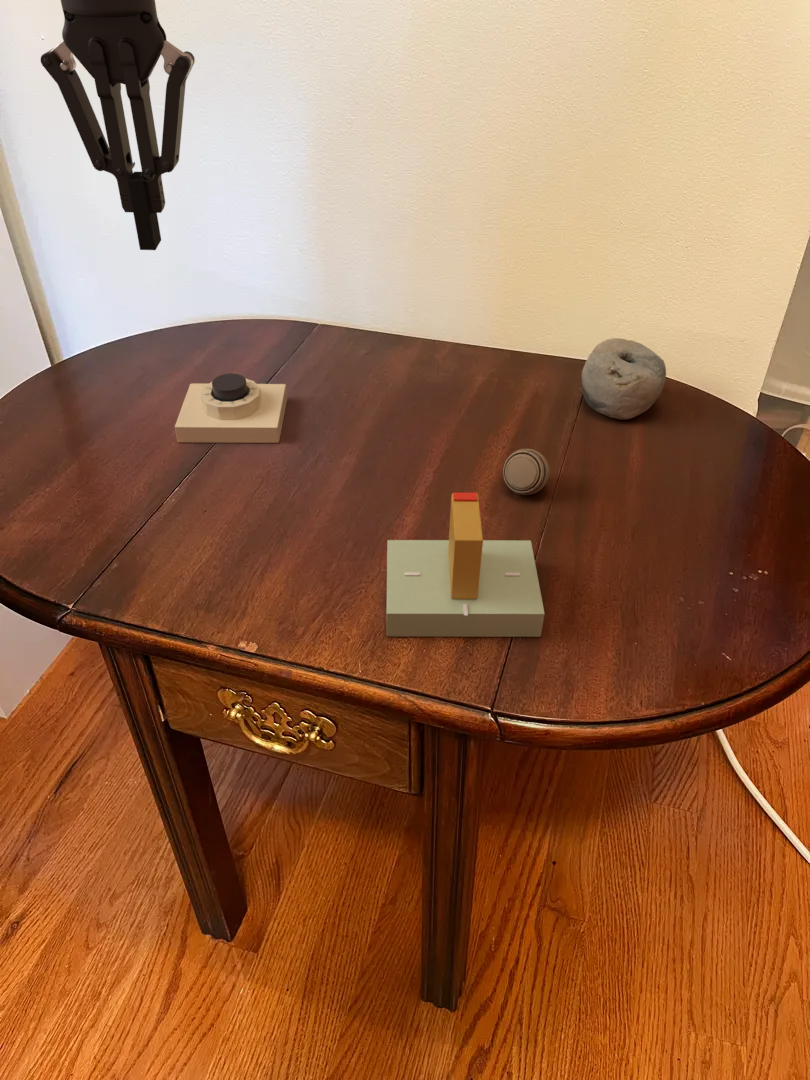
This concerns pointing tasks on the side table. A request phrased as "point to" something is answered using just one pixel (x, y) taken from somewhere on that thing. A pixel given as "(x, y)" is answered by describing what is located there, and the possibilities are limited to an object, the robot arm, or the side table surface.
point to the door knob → (526, 471)
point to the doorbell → (232, 415)
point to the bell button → (229, 387)
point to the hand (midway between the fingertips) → (150, 244)
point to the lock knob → (465, 546)
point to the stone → (622, 378)
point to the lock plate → (430, 611)
